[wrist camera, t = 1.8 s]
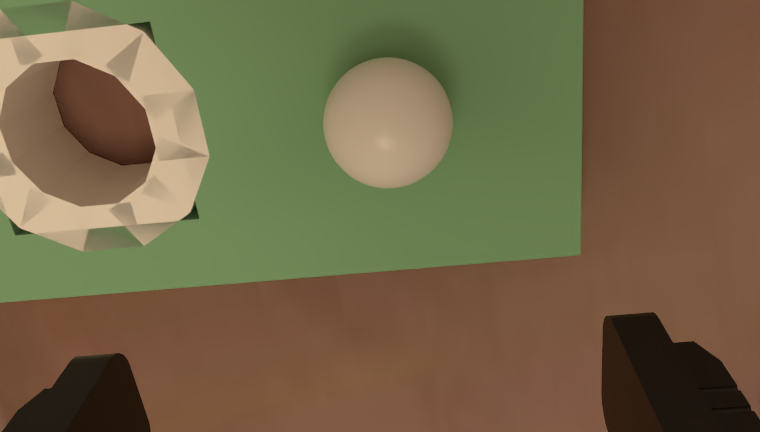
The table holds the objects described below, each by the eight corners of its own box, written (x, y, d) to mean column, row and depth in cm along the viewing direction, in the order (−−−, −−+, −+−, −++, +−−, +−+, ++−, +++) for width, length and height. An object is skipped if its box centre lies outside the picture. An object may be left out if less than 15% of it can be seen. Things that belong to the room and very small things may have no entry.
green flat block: (557, -129, 26) (584, -131, 22) (558, 207, 32) (580, 255, 28) (-92, -47, 28) (-177, -35, 24) (23, 254, 34) (-29, 304, 30)
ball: (444, 38, 24) (451, 68, 20) (453, 155, 26) (461, 203, 22) (321, 51, 25) (305, 83, 21) (338, 166, 27) (326, 215, 23)
